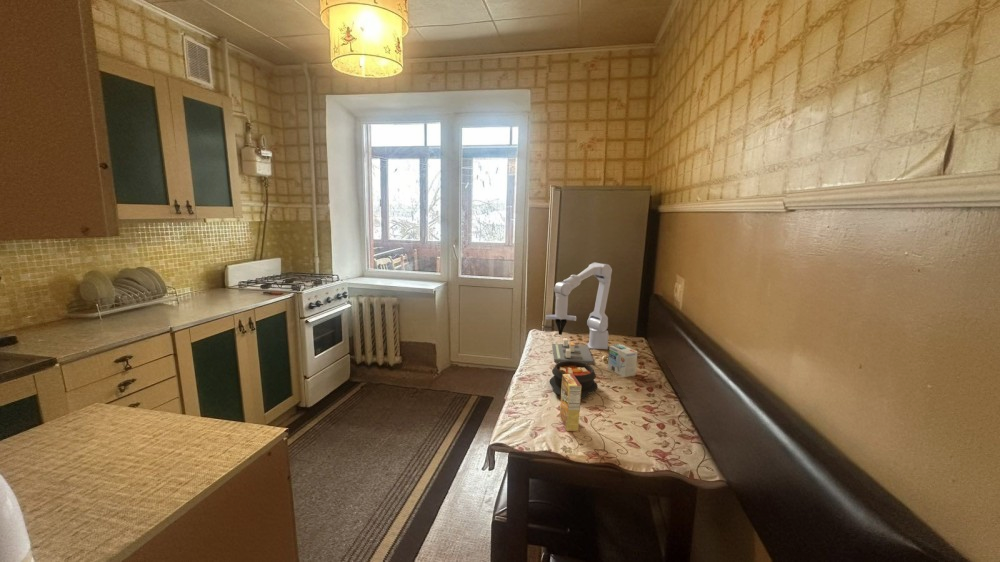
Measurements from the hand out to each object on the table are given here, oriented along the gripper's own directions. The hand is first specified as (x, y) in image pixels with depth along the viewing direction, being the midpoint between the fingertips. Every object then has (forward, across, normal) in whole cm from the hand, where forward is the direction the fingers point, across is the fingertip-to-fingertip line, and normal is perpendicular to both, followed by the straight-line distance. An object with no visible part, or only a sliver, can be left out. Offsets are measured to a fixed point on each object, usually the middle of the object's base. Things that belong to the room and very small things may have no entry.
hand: (560, 334), depth 182 cm
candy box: (+10, -1, -64) cm, 65 cm away
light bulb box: (+10, +26, -18) cm, 33 cm away
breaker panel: (+10, +6, 0) cm, 12 cm away
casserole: (+11, +3, -37) cm, 39 cm away
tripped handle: (+8, +6, 0) cm, 10 cm away
